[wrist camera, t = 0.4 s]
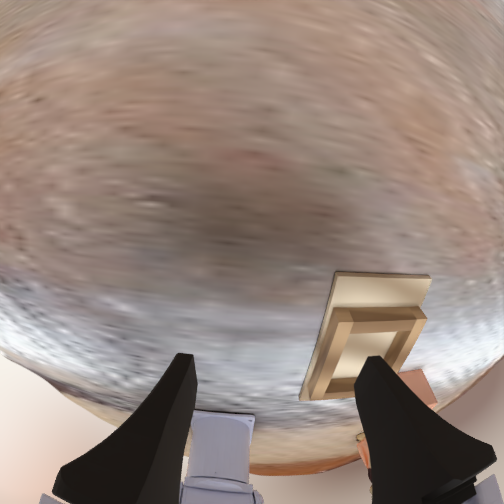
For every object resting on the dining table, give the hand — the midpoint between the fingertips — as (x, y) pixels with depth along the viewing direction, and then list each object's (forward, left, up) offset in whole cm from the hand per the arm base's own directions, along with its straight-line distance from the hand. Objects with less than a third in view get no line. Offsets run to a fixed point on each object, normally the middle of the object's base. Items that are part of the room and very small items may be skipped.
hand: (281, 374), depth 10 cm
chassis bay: (-8, -9, -10) cm, 16 cm away
